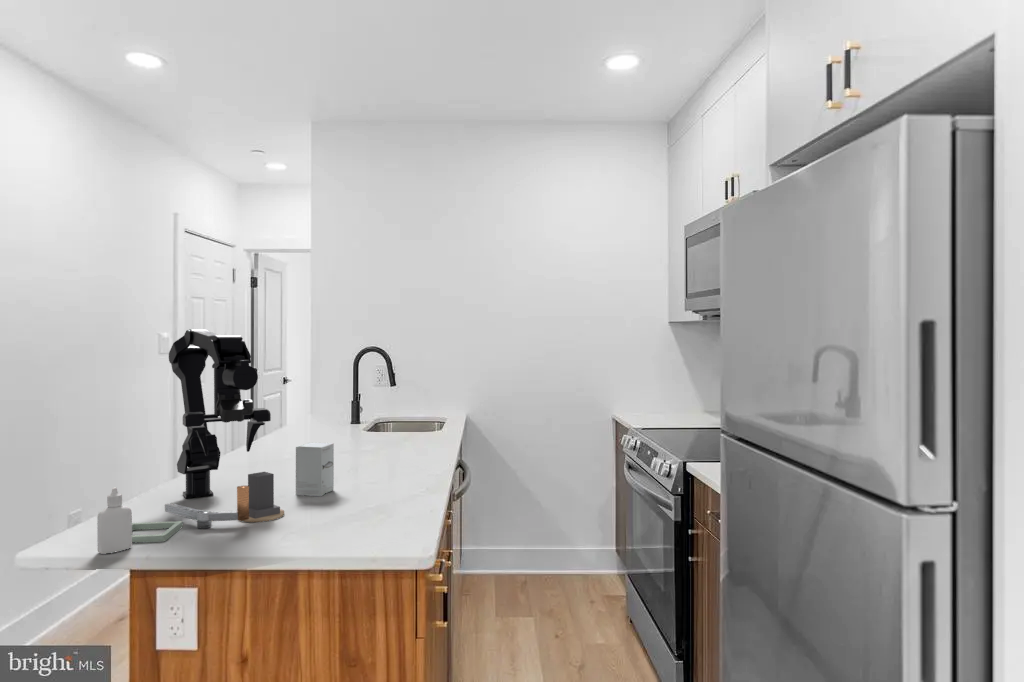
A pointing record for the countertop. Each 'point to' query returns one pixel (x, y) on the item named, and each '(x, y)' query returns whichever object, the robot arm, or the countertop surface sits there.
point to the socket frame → (162, 537)
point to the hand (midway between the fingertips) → (227, 453)
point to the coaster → (266, 517)
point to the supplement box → (314, 469)
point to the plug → (261, 495)
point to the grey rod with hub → (207, 517)
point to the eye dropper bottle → (114, 525)
